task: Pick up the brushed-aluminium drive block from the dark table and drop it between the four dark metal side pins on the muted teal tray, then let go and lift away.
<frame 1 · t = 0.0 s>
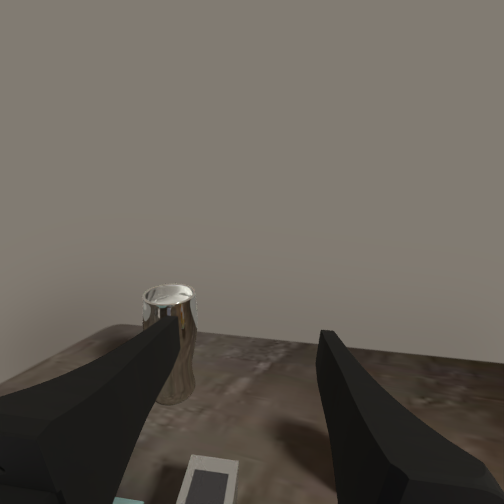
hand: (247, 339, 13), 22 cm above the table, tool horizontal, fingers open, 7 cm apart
beer glass: (174, 388, 37), on the table
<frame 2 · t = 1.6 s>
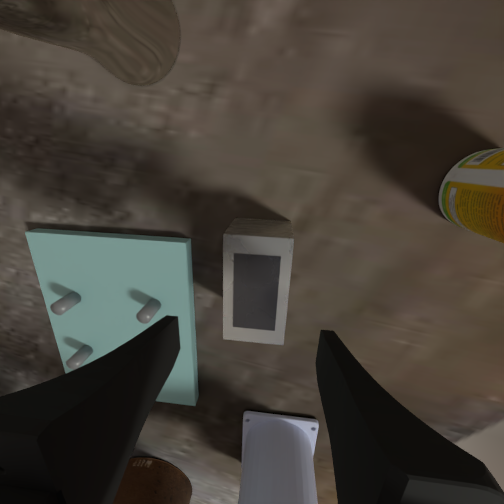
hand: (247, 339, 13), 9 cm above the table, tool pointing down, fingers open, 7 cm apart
pitcher: (153, 480, 34), on the table
supplement bottle: (475, 189, 18), on the table
beer glass: (137, 34, 17), on the table
pin tray: (126, 320, 25), on the table
drive block: (260, 264, 22), on the table
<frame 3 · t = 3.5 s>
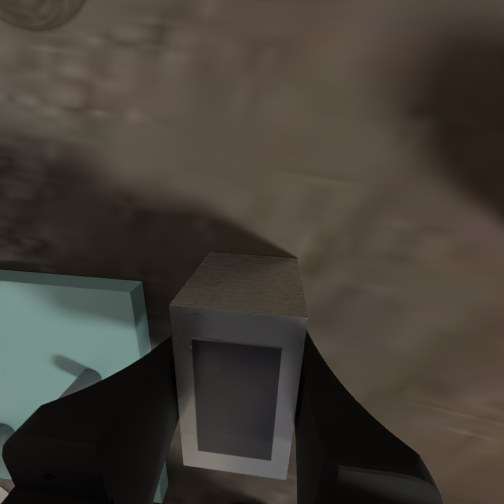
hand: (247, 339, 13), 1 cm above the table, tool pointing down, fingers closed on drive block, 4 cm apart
pin tray: (60, 389, 17), on the table
drive block: (250, 322, 14), on the table, touching gripper
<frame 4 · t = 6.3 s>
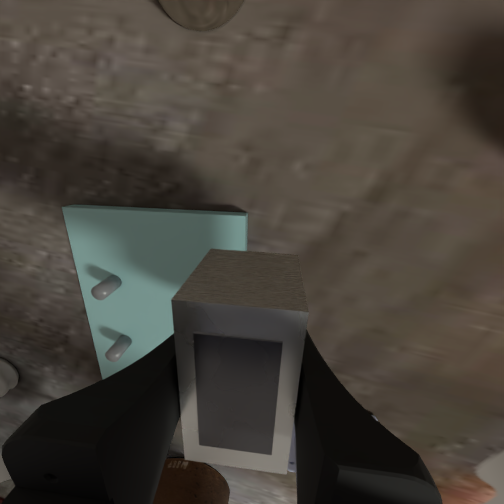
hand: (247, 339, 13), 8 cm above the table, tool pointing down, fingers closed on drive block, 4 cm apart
pitcher: (187, 483, 32), on the table
rook chess piece: (4, 369, 28), on the table
pin tray: (168, 308, 23), on the table
drive block: (250, 318, 14), point 7 cm above the table, touching gripper
when the fingers open (4 cm above the table, at t = 9.0 s): drive block drops 1 cm, resting on pin tray.
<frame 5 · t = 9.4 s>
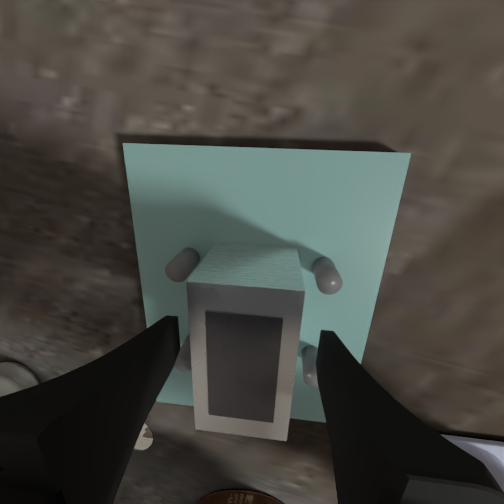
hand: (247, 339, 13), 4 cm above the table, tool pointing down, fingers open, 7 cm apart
rook chess piece: (21, 377, 22), on the table
wineglass: (127, 430, 23), on the table
pin tray: (254, 297, 16), on the table
drive block: (253, 306, 15), point 1 cm above the table, touching pin tray
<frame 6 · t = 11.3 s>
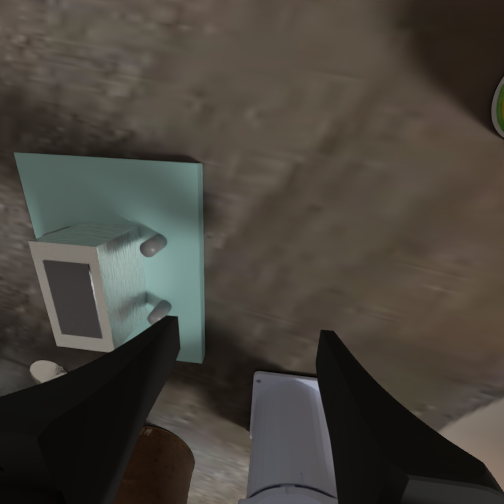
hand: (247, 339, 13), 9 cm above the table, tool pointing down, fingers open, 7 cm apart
pitcher: (153, 452, 32), on the table
wineglass: (52, 376, 29), on the table
pin tray: (127, 265, 22), on the table
drive block: (119, 269, 21), point 1 cm above the table, touching pin tray
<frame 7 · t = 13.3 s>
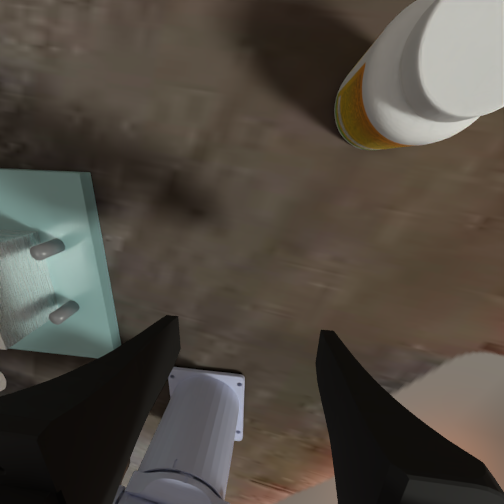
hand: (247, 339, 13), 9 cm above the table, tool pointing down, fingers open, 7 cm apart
supplement bottle: (373, 107, 17), on the table
pin tray: (38, 268, 24), on the table
drive block: (27, 272, 23), point 1 cm above the table, touching pin tray
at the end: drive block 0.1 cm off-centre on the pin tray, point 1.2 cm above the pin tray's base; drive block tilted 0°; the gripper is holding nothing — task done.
